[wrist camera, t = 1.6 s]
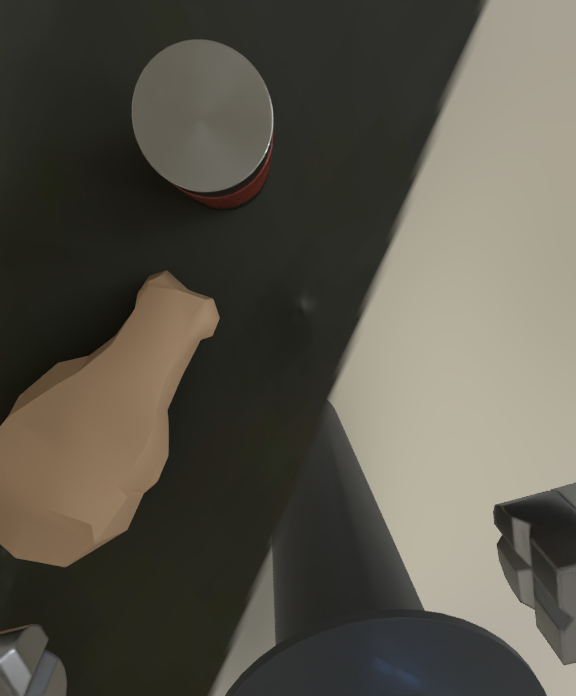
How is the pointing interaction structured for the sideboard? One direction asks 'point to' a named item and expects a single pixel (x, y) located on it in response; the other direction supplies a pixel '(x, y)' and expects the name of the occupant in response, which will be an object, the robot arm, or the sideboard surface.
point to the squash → (97, 430)
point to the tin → (205, 122)
